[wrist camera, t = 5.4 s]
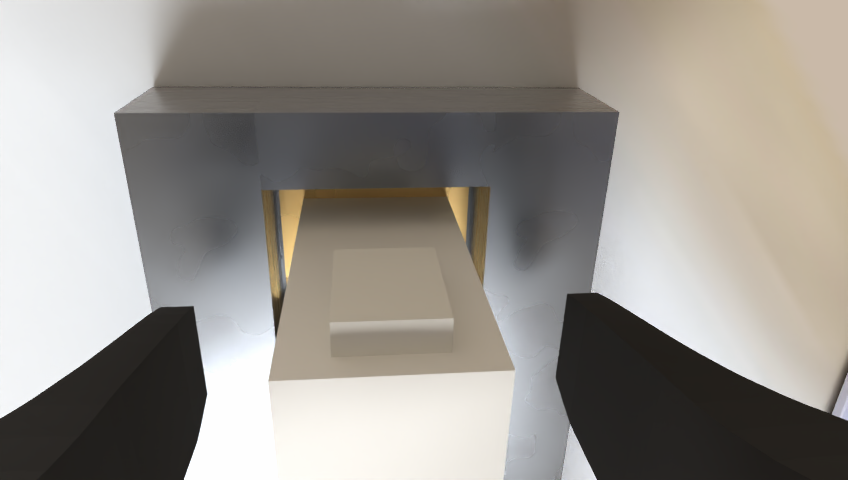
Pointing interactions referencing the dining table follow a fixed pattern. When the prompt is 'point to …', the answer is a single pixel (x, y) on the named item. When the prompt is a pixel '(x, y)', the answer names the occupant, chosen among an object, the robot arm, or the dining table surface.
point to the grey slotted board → (363, 178)
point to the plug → (387, 349)
